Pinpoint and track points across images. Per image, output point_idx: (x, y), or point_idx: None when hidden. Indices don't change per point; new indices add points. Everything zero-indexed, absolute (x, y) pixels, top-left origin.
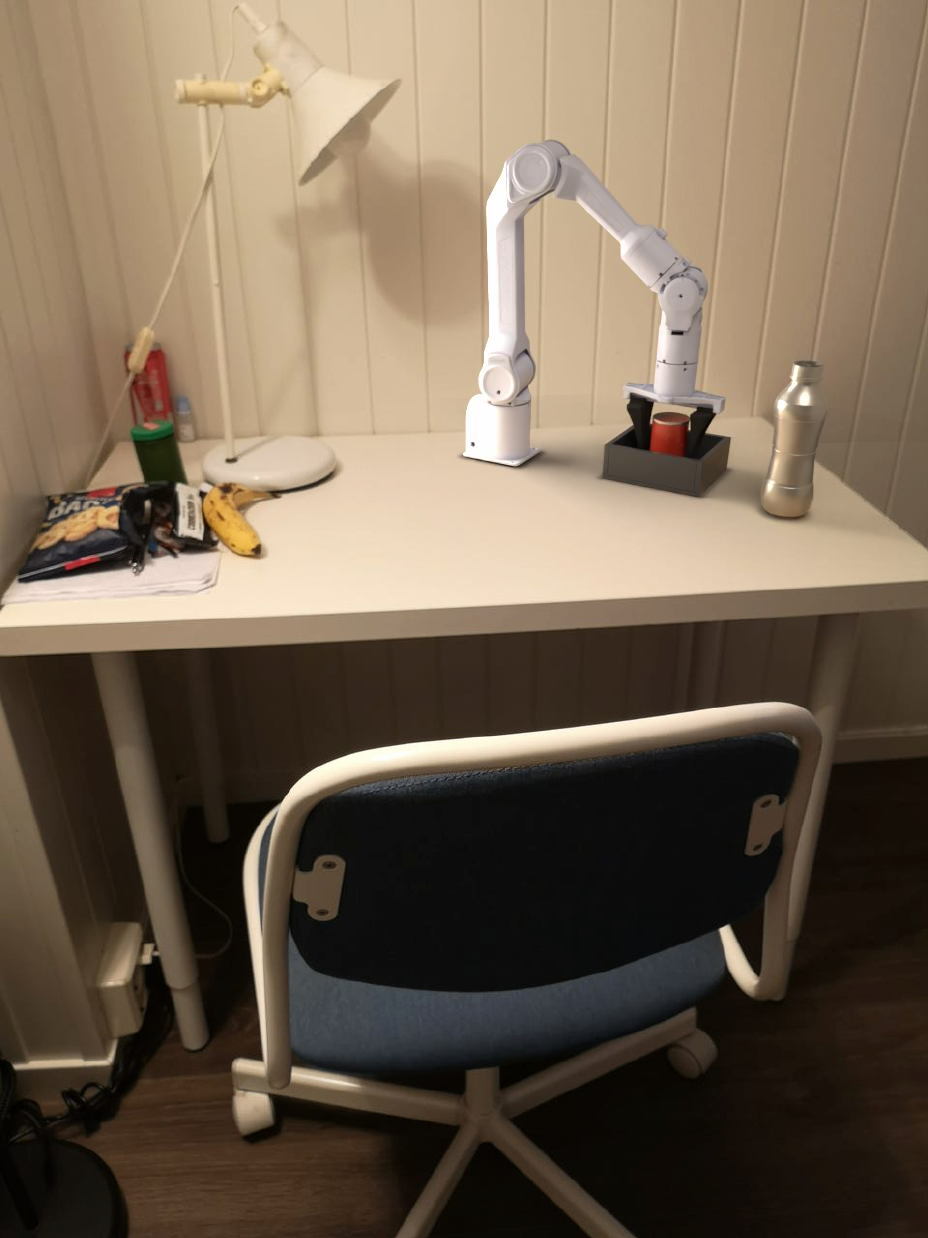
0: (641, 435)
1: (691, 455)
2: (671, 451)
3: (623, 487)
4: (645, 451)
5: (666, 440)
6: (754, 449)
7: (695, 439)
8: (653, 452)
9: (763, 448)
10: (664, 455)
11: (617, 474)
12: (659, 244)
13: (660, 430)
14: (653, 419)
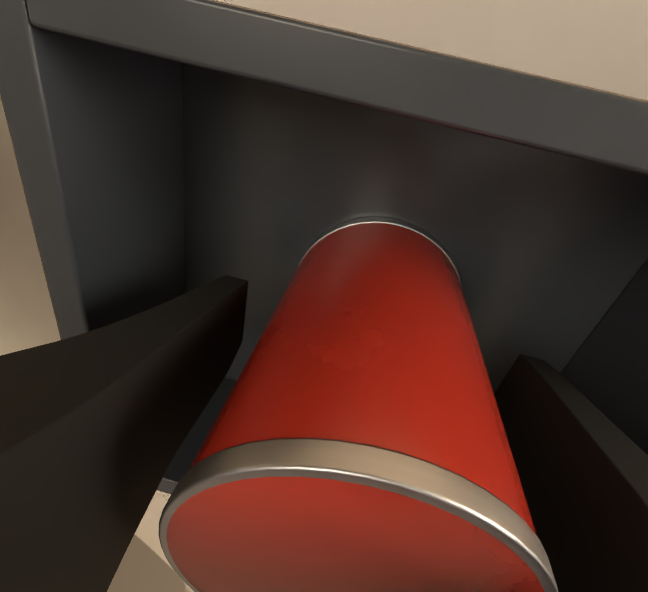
0: (582, 424)
1: (213, 280)
2: (330, 280)
3: (623, 10)
4: (573, 100)
5: (367, 324)
6: (166, 496)
7: (124, 326)
8: (480, 93)
9: (151, 501)
10: (357, 35)
11: None
12: None
13: (437, 401)
14: (548, 564)
